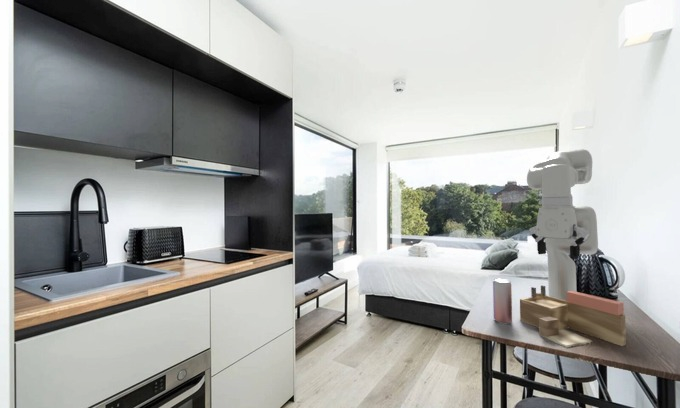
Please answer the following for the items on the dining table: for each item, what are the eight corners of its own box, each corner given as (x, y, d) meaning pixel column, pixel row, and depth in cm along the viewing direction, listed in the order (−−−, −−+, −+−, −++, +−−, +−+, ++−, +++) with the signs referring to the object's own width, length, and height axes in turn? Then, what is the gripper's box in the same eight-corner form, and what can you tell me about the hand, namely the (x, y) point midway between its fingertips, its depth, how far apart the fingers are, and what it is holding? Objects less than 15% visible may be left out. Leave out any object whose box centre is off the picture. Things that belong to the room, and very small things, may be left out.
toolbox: (542, 314, 112) (542, 285, 112) (629, 343, 88) (628, 305, 88) (519, 320, 107) (519, 289, 107) (605, 352, 83) (604, 312, 83)
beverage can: (490, 318, 109) (489, 278, 110) (505, 317, 110) (504, 278, 110) (500, 324, 103) (499, 282, 104) (516, 323, 104) (515, 282, 104)
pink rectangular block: (572, 300, 101) (571, 290, 101) (623, 314, 88) (623, 302, 88) (566, 301, 100) (566, 291, 100) (618, 315, 87) (618, 304, 87)
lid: (564, 332, 97) (563, 314, 97) (592, 343, 89) (591, 324, 89) (539, 336, 94) (538, 318, 95) (565, 348, 86) (565, 328, 86)
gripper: (522, 203, 100) (523, 253, 99) (580, 202, 84) (581, 261, 83) (536, 203, 102) (537, 251, 102) (595, 202, 86) (596, 259, 86)
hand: (557, 256), depth 93 cm, fingers open, 9 cm apart
